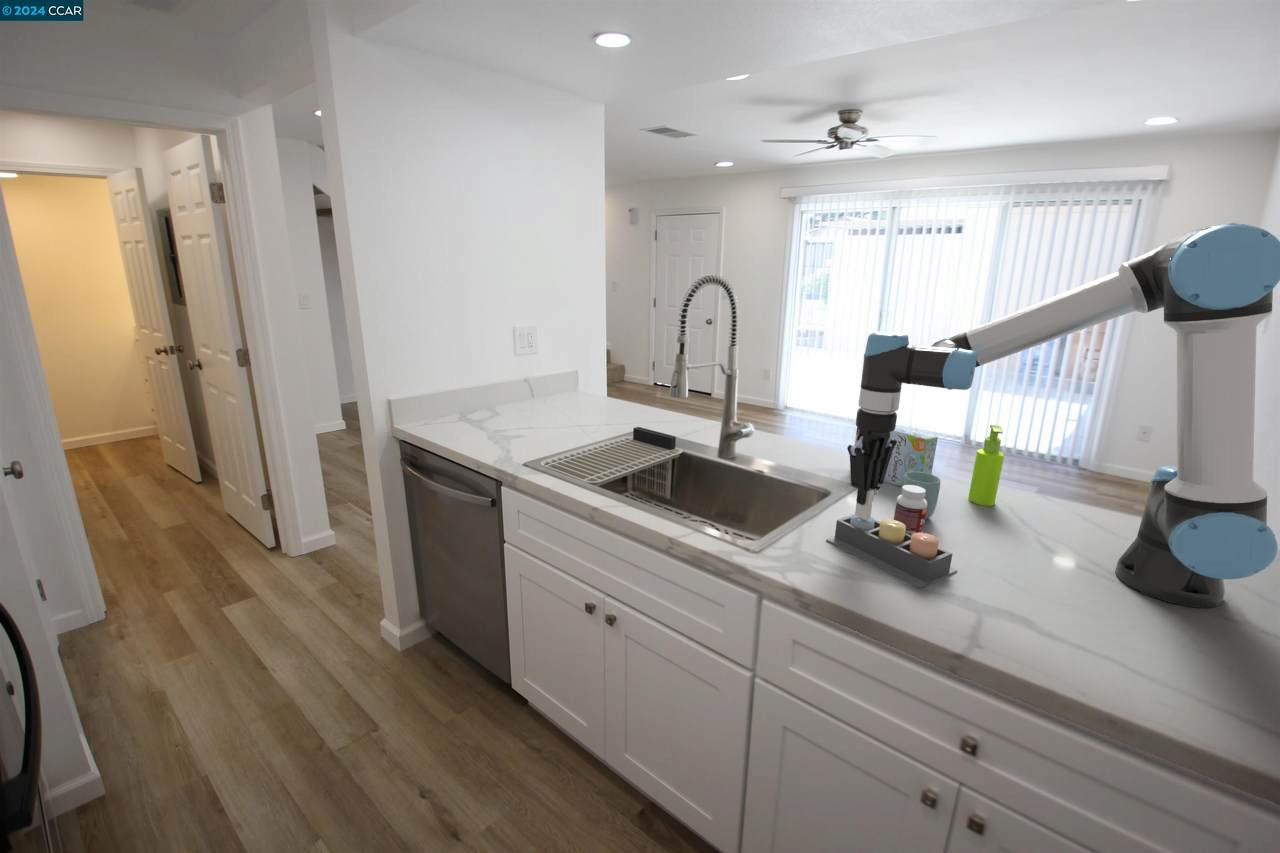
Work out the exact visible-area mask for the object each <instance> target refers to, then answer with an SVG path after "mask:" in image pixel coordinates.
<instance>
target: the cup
mask: <svg viewBox="0 0 1280 853" xmlns="http://www.w3.org/2000/svg"><path fill="white" fill-rule="evenodd" d="M904 485H915V486H919V487H922V488H924V489H925V490H926V493H925V497H924V499H925V500H926V501H927V510H926V516H925V520H928V519H930V518H931V517H932V516H933V514H934V513H935V511H936V507H937V504H938V500H939V494H940V489H941V479H940V477H939V476H936V475H934V474H933V473H932V474H929V473H924V472H907V473H905V475H904V479H903V485H902V487H903V486H904ZM902 487H901V488H902ZM900 495H902V492H901V494H900Z"/></svg>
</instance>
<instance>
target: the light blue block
mask: <svg viewBox="0 0 1280 853" xmlns="http://www.w3.org/2000/svg"><path fill="white" fill-rule="evenodd" d="M850 516H851V515H850ZM874 519H875V518H874V517H872V516H871V517H870V519H867V520H864V519H862V518H860V517H858V516H855V515H854V514H852V516H851V521H850V524H851V525H853V526H855V527H857V528H860V529H862V530H864V531H869V530H871V529H874V524H875V520H876V519H875V520H874Z"/></svg>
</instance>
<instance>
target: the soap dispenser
mask: <svg viewBox="0 0 1280 853" xmlns="http://www.w3.org/2000/svg"><path fill="white" fill-rule="evenodd" d="M989 428H990V433H989V436H987V437H985V438H984V443H983V448H979V449H977V450H976V456H975V458H974V459H975V460H974V465H973V470H972V475H971V476H972V477H971V481H970V487H969V492H968V496H967V497H968V498H967V499H968V501H970V502H971V503H974V505H975V504H976V505H979V506H985V507H986V506H987V507H989V506H994V505H995V503H996V499H997V498H996V497H997V494H998V489H999V483H1000V477H1001V473H1002V470H1003V463H1004V459H1005V454H1004V452H1001V451H1000V449H1001V448H1000V447H1001V443H1002V440H1001V439H1000V438H999V434H1003V429H1002V427H1001V426H1000V425H994V424H990V426H989Z"/></svg>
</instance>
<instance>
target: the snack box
mask: <svg viewBox="0 0 1280 853" xmlns="http://www.w3.org/2000/svg"><path fill="white" fill-rule="evenodd" d="M859 431H860V430H859V428H858V427H857V426H856V431H855V432H856V433H855V440H854V444H855V443H856V442H857V436H858V434H859ZM890 438H891V439H894V440H896V441H897V443H896V445H895V447H894V449H893V451H892V455H891V458H890V461H889V465H888V468H887V471H886V475H885V478H884V481H883V482H885V483H889V484H891V485H894V486H897V487H900V488H902V485H903V479H904V475H905V473H907V472H924V473H929V474H932V475H933V469H934V468H933V467H934V463H935V456H936V450H937V444H938V439H939V436H936V435H932V434H928V433H924V432H920V431H917V430H912V429H909V428H904V427H901V426H897V425H896V427H895V430H894V431H892V432H890Z"/></svg>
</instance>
